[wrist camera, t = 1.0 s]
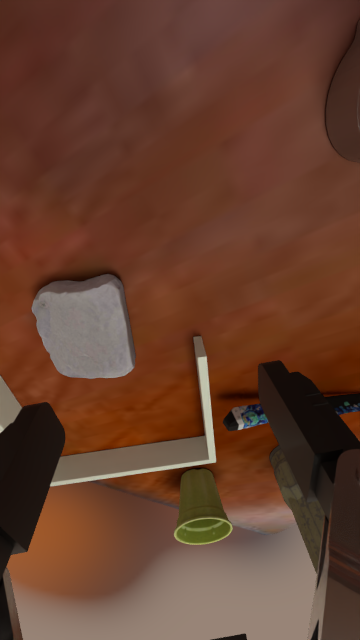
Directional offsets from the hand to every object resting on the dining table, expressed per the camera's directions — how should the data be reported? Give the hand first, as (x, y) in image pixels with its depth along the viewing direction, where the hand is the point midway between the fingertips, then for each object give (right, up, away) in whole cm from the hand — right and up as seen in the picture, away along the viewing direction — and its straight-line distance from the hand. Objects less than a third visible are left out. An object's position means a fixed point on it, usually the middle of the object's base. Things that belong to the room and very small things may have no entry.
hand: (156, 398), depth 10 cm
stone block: (-10, +3, +20) cm, 23 cm away
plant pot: (+4, -27, +38) cm, 47 cm away
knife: (+22, -8, +29) cm, 37 cm away
